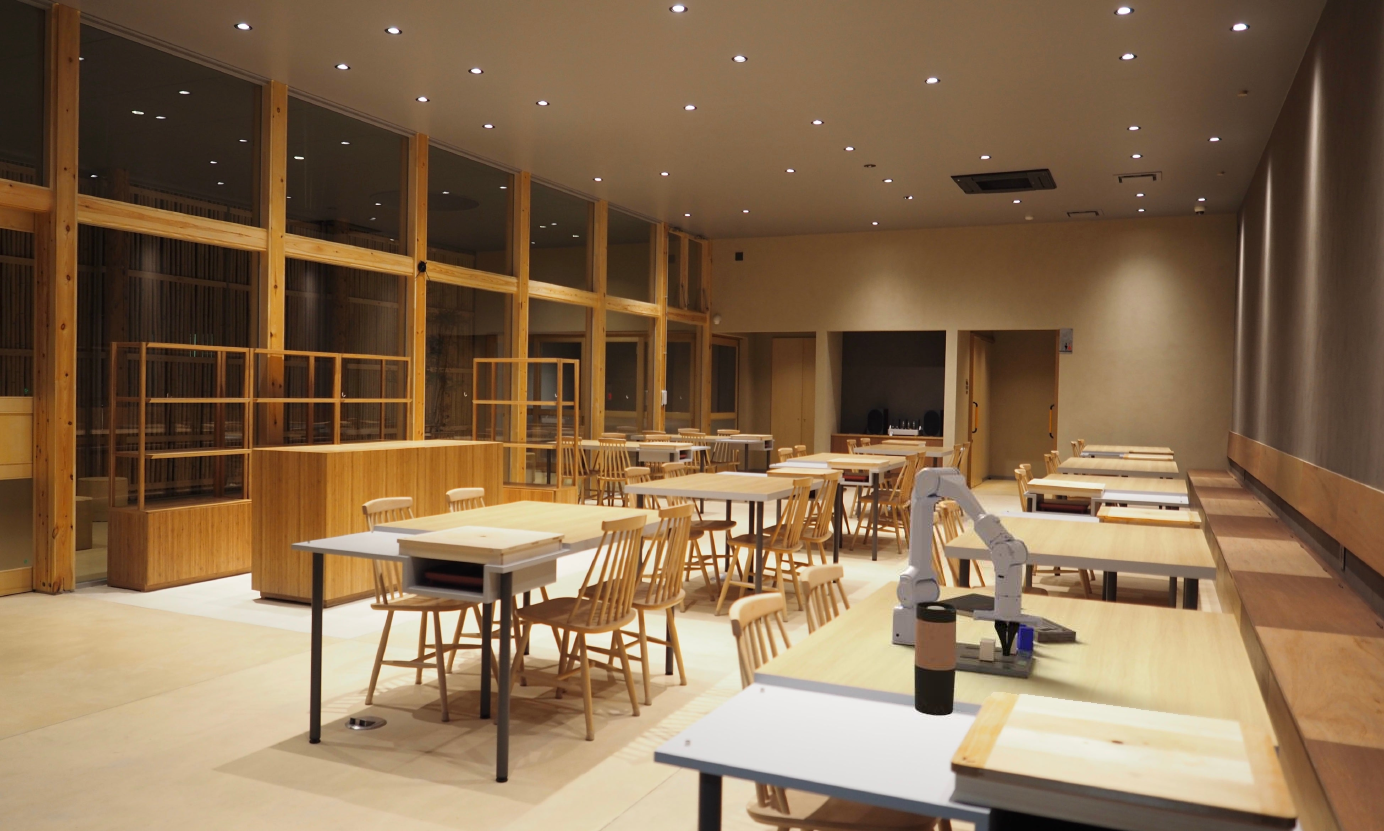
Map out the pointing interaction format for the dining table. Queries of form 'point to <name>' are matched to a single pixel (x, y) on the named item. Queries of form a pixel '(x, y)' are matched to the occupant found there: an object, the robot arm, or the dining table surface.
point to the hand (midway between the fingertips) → (1006, 655)
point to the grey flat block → (1052, 632)
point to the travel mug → (935, 658)
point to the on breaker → (1014, 646)
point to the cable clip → (1025, 638)
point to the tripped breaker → (987, 649)
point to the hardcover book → (971, 603)
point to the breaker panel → (1000, 666)
